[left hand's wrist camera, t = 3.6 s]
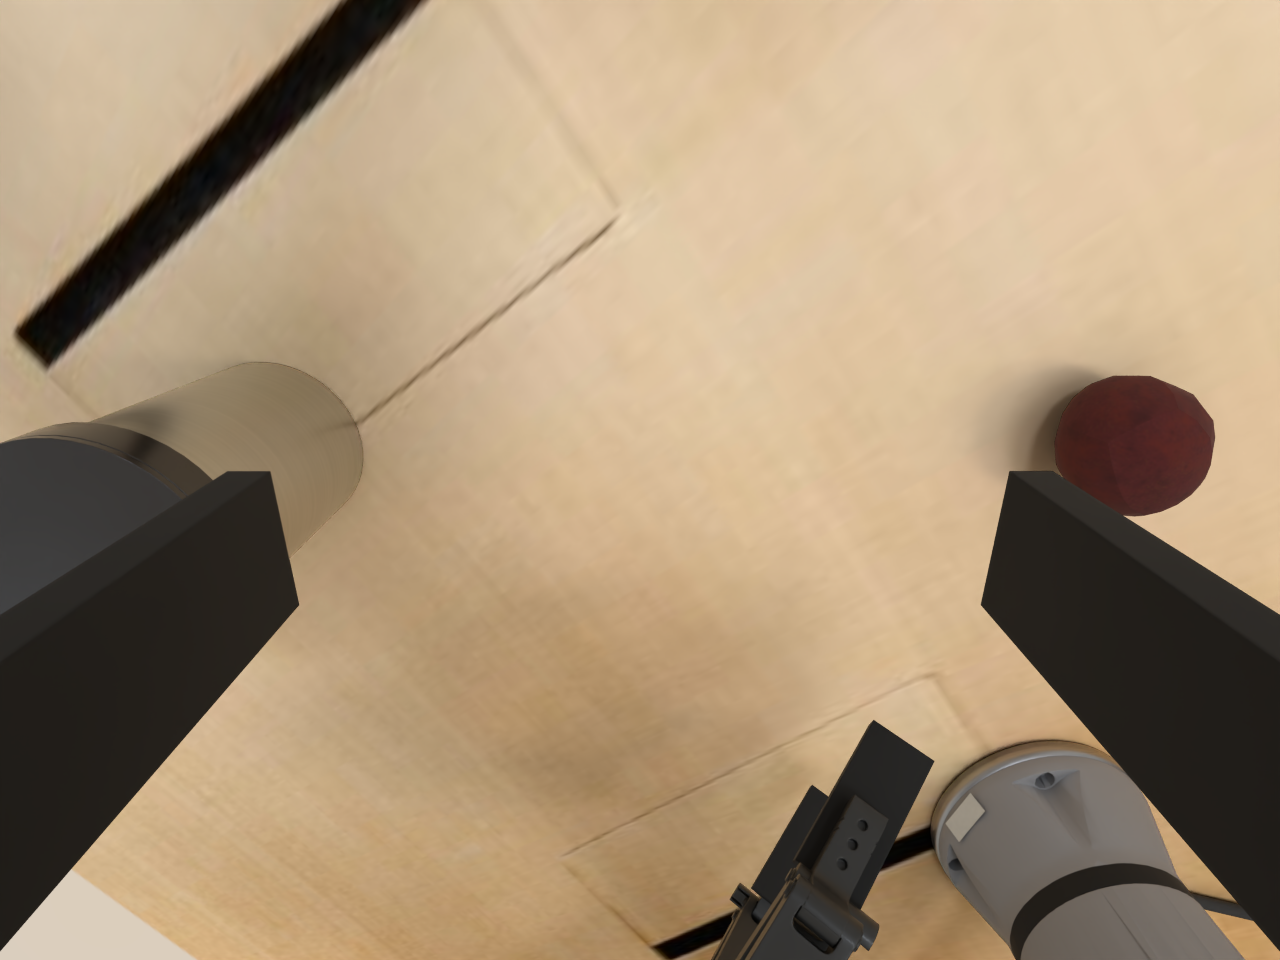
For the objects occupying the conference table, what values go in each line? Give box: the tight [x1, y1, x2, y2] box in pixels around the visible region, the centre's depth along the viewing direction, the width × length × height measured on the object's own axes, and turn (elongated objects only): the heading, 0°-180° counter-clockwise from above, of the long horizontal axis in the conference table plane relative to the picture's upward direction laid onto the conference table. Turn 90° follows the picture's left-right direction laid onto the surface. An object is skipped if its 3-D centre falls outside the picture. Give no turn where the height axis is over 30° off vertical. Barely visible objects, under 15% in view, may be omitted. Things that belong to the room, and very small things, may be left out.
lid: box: [0, 422, 213, 615], centre depth 28 cm, size 11×11×2 cm
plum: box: [1055, 376, 1215, 516], centre depth 37 cm, size 7×8×7 cm
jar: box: [88, 362, 363, 558], centre depth 34 cm, size 10×10×15 cm
